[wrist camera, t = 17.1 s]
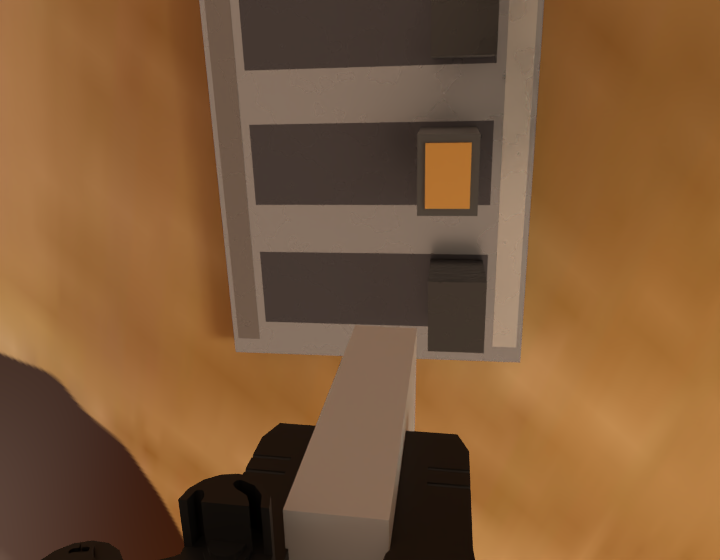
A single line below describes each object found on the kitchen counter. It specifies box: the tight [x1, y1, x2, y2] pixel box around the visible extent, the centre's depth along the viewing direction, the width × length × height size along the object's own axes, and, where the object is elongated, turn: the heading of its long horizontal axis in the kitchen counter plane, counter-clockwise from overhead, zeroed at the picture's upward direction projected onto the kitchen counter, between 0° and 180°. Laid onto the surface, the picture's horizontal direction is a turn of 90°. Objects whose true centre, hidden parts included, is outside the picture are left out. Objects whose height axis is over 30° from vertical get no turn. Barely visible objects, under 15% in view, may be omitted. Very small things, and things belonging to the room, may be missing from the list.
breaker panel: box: [199, 0, 544, 362], centre depth 33 cm, size 24×18×6 cm
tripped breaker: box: [417, 127, 481, 216], centre depth 31 cm, size 4×3×4 cm
